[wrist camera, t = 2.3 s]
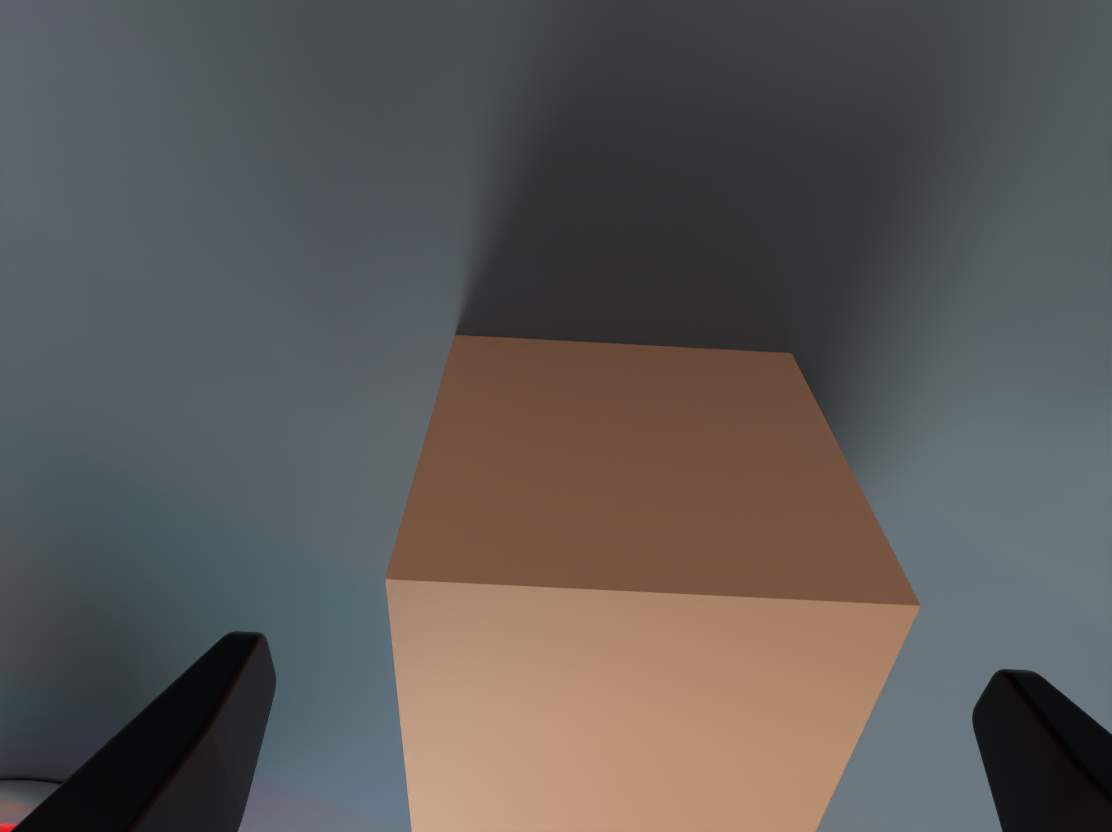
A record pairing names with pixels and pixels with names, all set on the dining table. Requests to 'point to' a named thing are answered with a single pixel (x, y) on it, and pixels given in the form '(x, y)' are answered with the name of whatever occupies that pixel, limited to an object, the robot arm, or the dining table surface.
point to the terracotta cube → (634, 594)
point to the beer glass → (21, 800)
